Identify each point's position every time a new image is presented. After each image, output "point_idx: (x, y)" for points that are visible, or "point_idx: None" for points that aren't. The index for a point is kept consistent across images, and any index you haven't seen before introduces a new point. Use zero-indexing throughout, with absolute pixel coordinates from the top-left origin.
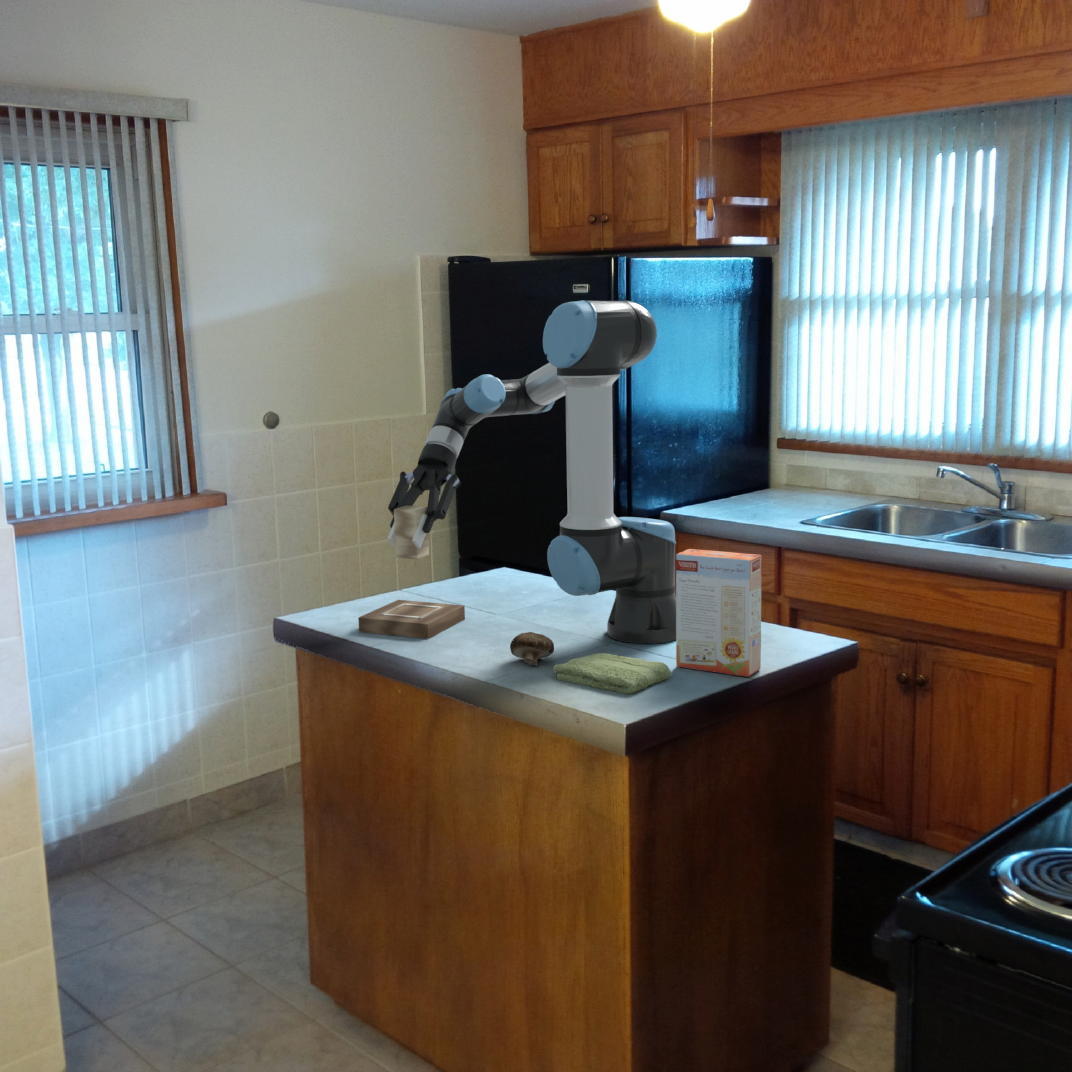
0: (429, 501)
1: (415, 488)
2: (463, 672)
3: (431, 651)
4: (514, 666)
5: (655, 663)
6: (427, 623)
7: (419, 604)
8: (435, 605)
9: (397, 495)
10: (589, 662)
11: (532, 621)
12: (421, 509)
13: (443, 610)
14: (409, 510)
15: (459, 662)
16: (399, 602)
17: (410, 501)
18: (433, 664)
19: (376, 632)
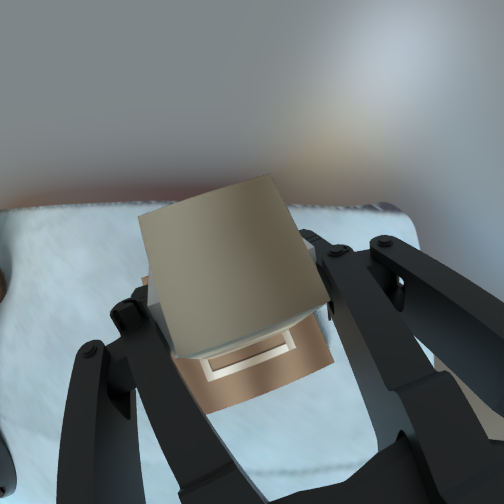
0: (164, 372)
1: (388, 393)
2: (32, 214)
3: (102, 243)
4: (2, 265)
5: None
6: (144, 280)
7: (269, 368)
8: (237, 384)
9: (433, 281)
10: None
11: None
12: (155, 282)
13: (191, 366)
14: (173, 204)
15: (50, 235)
16: (314, 350)
17: (352, 343)
18: (70, 209)
19: None
